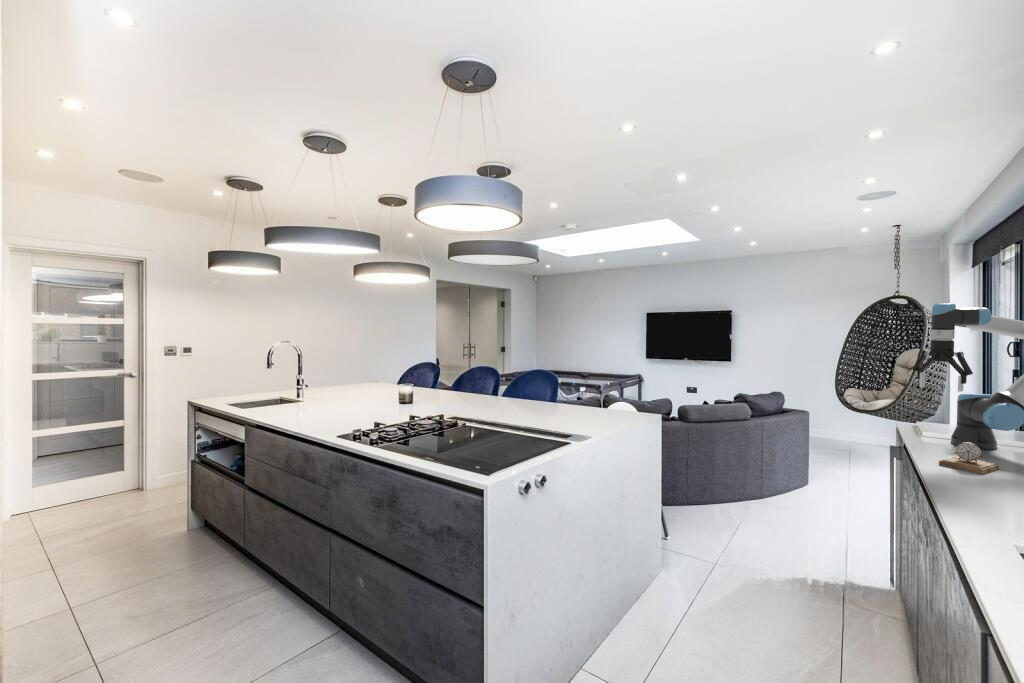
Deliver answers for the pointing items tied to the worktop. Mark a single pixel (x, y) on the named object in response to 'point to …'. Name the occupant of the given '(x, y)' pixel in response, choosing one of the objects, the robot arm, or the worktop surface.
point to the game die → (968, 451)
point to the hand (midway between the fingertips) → (940, 389)
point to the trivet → (969, 465)
